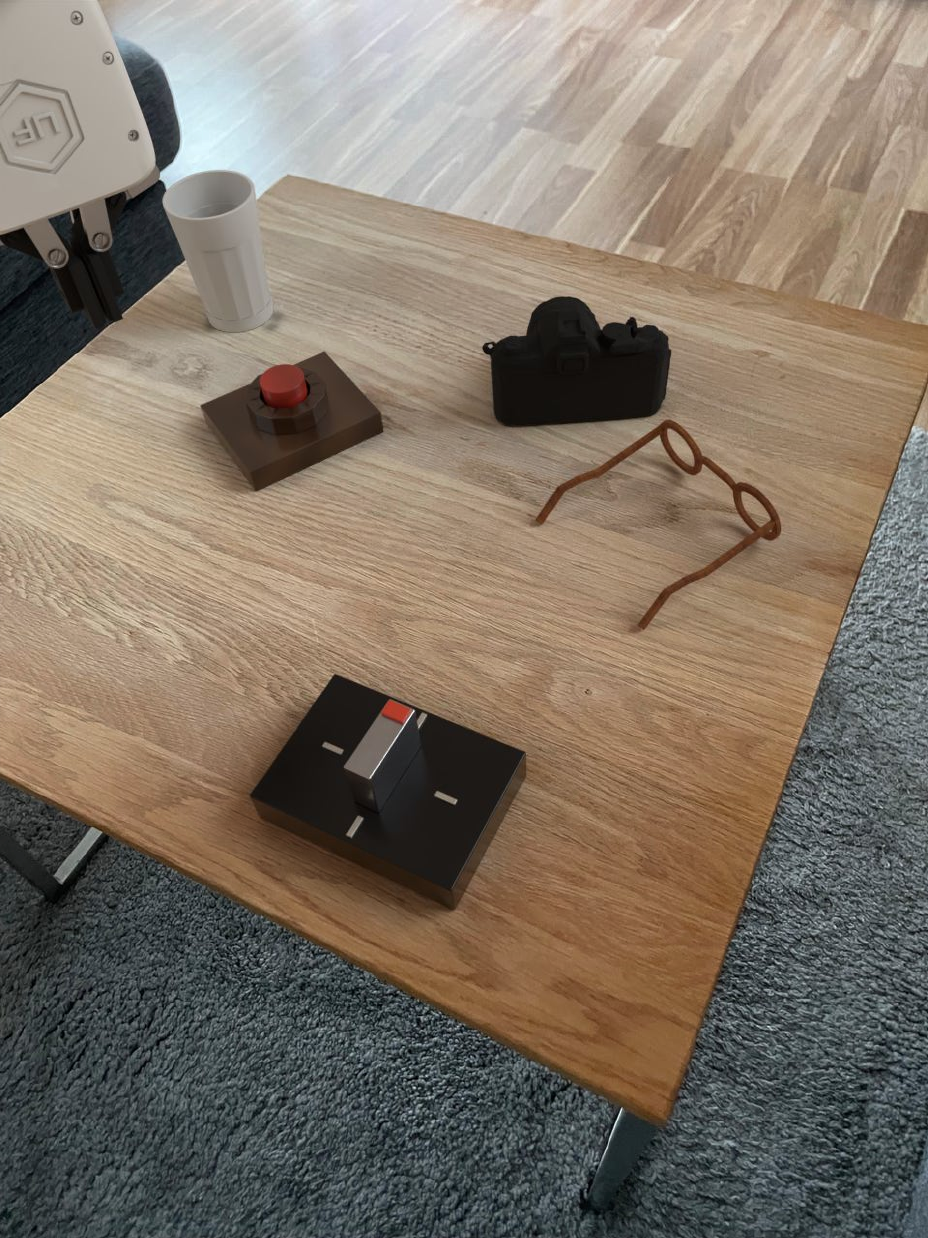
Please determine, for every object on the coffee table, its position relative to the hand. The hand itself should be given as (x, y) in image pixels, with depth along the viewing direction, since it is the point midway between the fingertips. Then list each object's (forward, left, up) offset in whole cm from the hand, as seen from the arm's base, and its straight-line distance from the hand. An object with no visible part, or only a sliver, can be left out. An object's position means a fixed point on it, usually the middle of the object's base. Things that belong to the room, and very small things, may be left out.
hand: (100, 311), depth 56 cm
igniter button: (+8, +17, -22) cm, 29 cm away
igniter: (+8, +17, -25) cm, 31 cm away
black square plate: (+10, -20, -25) cm, 33 cm away
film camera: (+32, +15, -25) cm, 43 cm away
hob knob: (+10, -20, -22) cm, 31 cm away
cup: (+5, +35, -25) cm, 44 cm away
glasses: (+33, -3, -25) cm, 42 cm away
